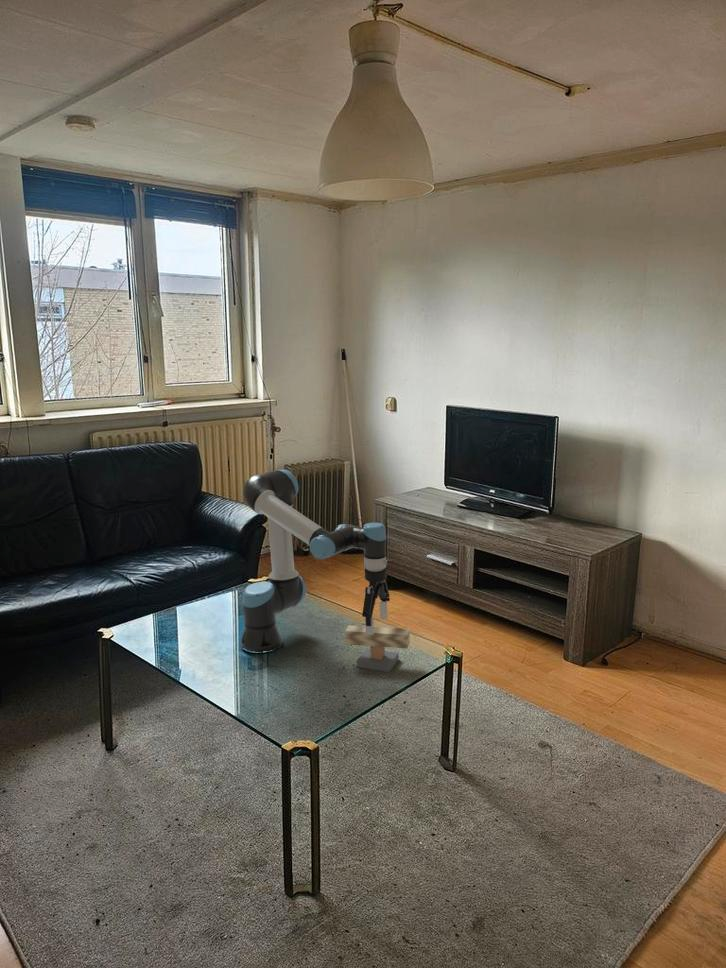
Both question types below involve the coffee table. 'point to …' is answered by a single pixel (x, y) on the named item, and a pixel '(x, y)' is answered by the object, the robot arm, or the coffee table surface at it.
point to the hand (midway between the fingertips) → (376, 626)
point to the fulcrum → (377, 659)
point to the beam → (377, 637)
